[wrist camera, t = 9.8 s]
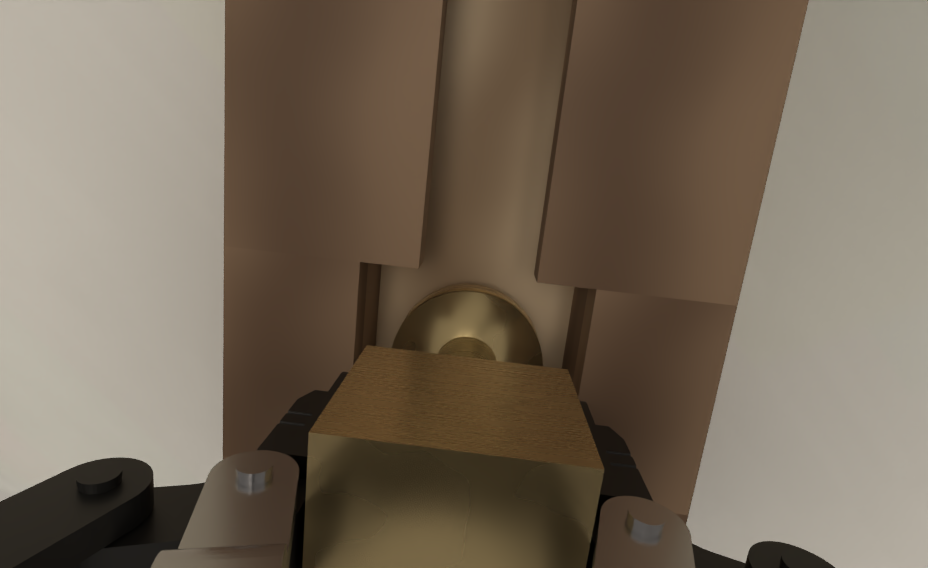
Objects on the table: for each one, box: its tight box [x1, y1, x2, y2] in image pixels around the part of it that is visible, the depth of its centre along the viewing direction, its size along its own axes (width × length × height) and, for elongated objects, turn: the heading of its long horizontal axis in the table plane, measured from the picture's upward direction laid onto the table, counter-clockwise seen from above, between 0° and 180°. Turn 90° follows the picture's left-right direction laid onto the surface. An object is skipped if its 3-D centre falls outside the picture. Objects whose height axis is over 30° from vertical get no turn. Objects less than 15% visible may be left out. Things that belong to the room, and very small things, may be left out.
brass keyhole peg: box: [302, 284, 604, 568], centre depth 12 cm, size 4×4×9 cm
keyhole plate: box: [223, 0, 809, 524], centre depth 15 cm, size 13×19×4 cm
